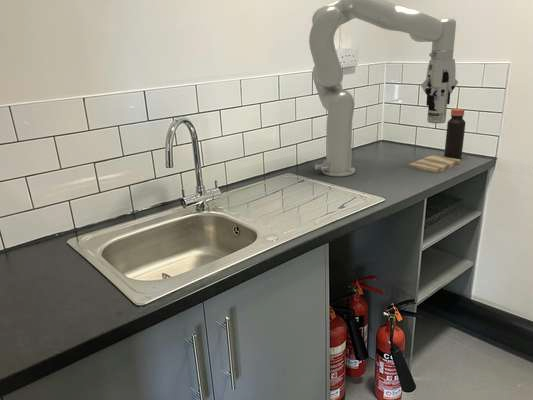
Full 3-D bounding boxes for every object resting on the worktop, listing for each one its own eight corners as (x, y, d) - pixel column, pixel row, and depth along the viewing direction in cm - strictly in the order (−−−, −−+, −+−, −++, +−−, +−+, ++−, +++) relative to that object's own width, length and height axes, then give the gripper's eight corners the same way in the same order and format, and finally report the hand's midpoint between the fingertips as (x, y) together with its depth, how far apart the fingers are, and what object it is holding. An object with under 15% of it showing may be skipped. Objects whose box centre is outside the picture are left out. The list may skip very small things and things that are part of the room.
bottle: (456, 155, 187) (461, 107, 180) (464, 159, 181) (470, 110, 174) (441, 156, 187) (445, 108, 180) (448, 160, 180) (453, 111, 173)
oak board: (437, 173, 164) (437, 169, 164) (408, 167, 173) (408, 163, 173) (460, 163, 175) (460, 159, 175) (432, 158, 184) (432, 154, 184)
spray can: (423, 121, 170) (427, 68, 163) (436, 119, 173) (440, 66, 166) (436, 124, 165) (441, 68, 158) (449, 122, 167) (454, 67, 160)
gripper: (429, 57, 154) (425, 108, 160) (468, 54, 159) (463, 103, 166) (415, 56, 161) (412, 105, 167) (453, 53, 166) (449, 101, 172)
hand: (437, 104), depth 166 cm, fingers closed on spray can, 6 cm apart
